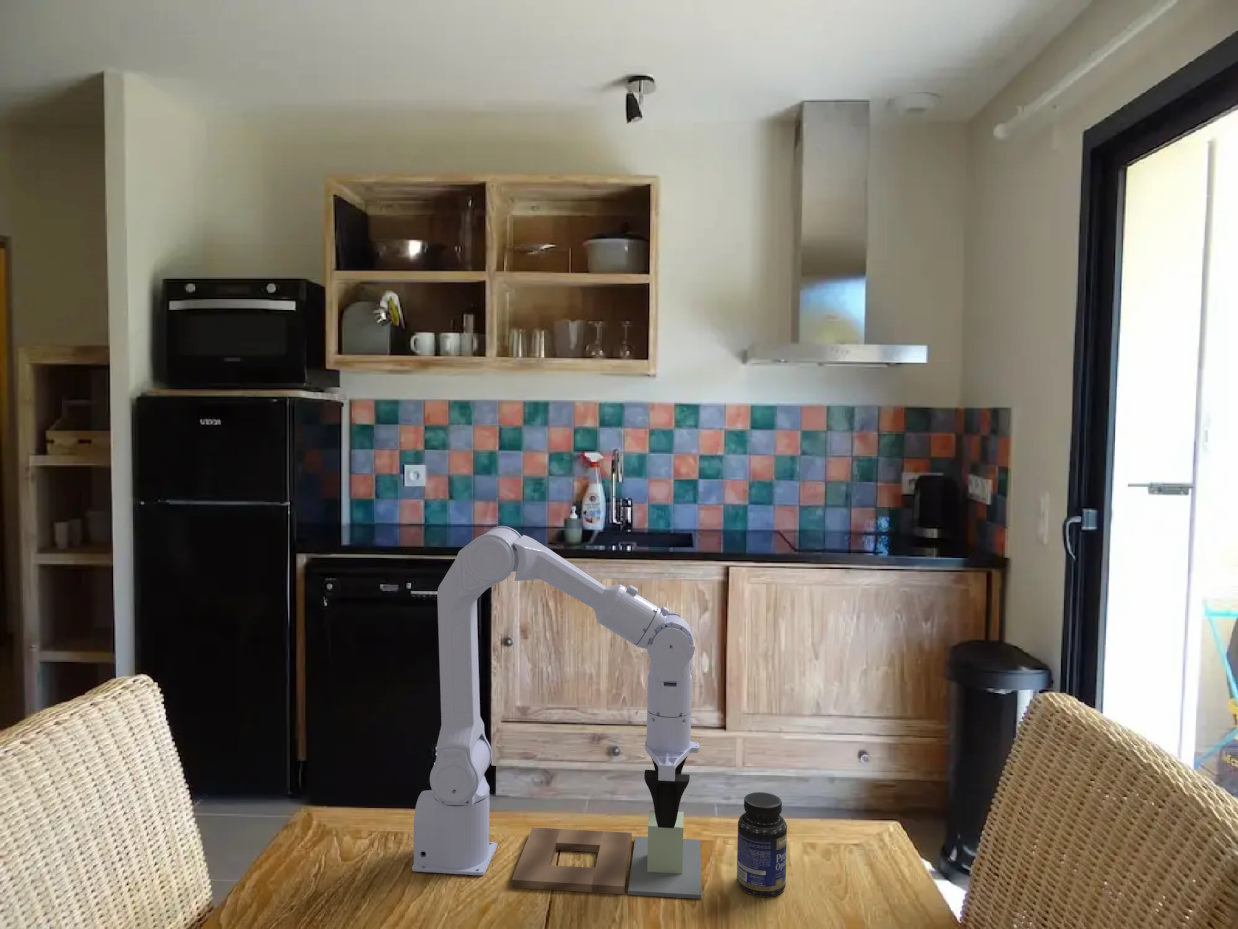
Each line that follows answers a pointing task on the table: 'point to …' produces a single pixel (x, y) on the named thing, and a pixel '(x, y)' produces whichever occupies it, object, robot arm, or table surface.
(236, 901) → the table surface
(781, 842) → the pill bottle
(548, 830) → the pocket board
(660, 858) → the sage block
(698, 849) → the mat
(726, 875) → the table surface
